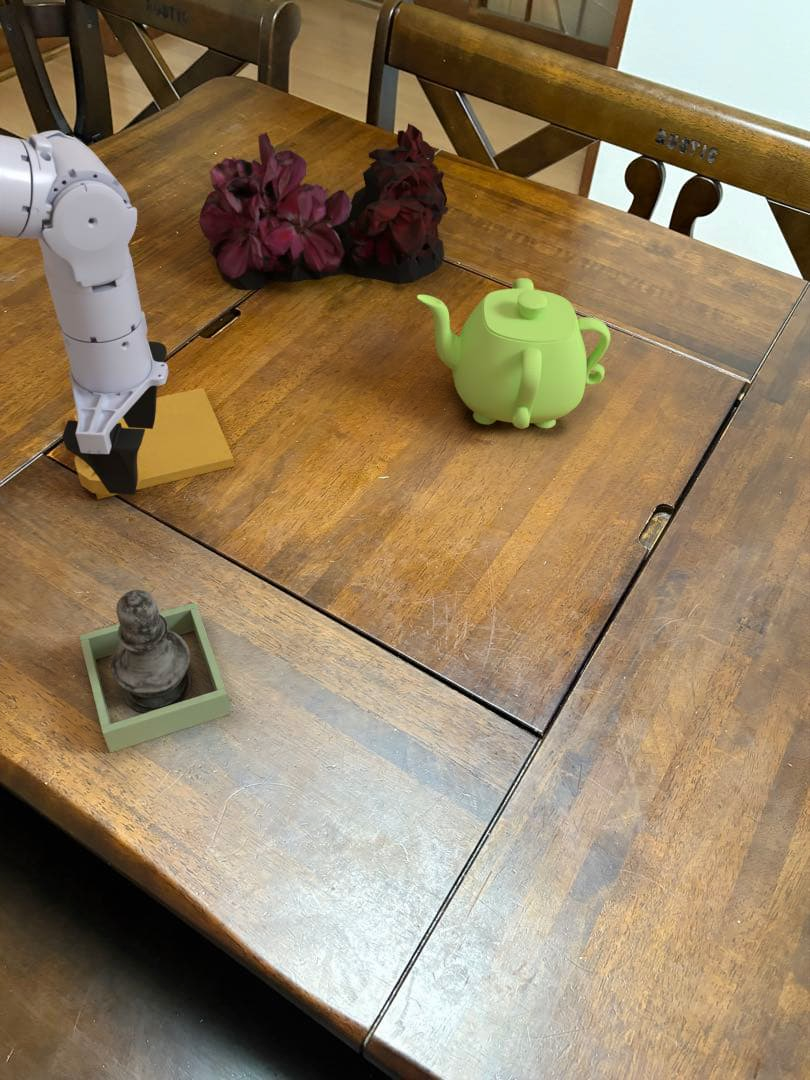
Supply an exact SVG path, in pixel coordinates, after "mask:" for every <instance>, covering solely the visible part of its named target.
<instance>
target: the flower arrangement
mask: <svg viewBox="0 0 810 1080" xmlns="http://www.w3.org/2000/svg"><path fill="white" fill-rule="evenodd" d="M396 143H397V145H398V146H397V147H395V148H393V149H392V148H376V149H373V150H372V151H370V152H368V158H369V159H372V160H375V161H372V163H370V164H369V167H368V168H367V169H365V170H364V171H363V172H362V175H363V181H364V187H362V188H360V189H358V190H357V191H356V192H354V194H353V197H352V199H351V198H350V196H349V195H348V194H347V192H346V191H345V190H344V189H339V190H338V191H335V192H334V193H333V194H331V195H330V196H329V192H330V189H329V188H326V189H324V187H323V186H322V185H319V184H318V183H315V184H311V183H303V184H302V183H301V182H302V181H303V180H304V178H305V177H306V176H307V163H308V162H307V161H306V160H305V159H304V158H303V157H302V156H301V155H299V154H297V153H296V152H294V151H293V150H290V149H289V150H282V151H279V152H276V148H275V147H274V146H273V145H272V144H271V139H270V137H269V135H268V132H265V133H260V135H258V150H259V151H258V152H259V157H260V162H261V163H259V162H258V161H257V160H255V159H254V158H253V159H252V162H250V161H247V160H245V159H241V158H240V159H238V158H237V159H236V157H235V156H233V155H231V158H224V159H223V160H222V161H221V162H219V163H218V162H217V163H216V164H214V166H213V167H211V168H210V170H209V175H210V177H209V178H210V183H211V187H212V188H213V189H214V190H213V191H211V192H210V193H209V194H207V196H206V198H205V201H204V203H203V205H202V207H201V210H200V214H199V218H198V223H199V228H200V230H201V232H202V234H203V237H204V238H206V239H207V240H208V241H209V246H208V252H209V254H211V255H212V256H213V258H214V259H215V263H216V267H217V269H218V272H219V274H220V276H221V278H222V280H223V281H225V283H227V284H229V285H231V287H233V288H234V289H237V290H245V291H251V290H256V289H262V288H264V287H266V286H267V285H269V284H271V283H273V282H283V283H284V282H285V283H293V282H299V281H305V280H310V279H314V280H315V279H316V280H317V279H318V280H320V279H321V280H322V279H325V278H328V277H331V276H338V275H344V274H345V275H346V274H348V275H352V276H356V277H362V278H369V279H374V280H379V281H380V280H381V281H384V282H387V283H388V282H389V283H393V284H398V285H402V284H408V283H414V282H416V281H419V280H420V279H422V278H425V277H426V276H428V275H430V274H432V273H434V272H436V271H437V270H438V269H439V268H440V267H441V265H443V261H444V257H445V249H444V241H443V240H442V239H440V237H439V229H438V225H440V224H441V221H442V219H443V215H445V214H446V215H447V214H448V213H447V212H448V210H450V207H448V206H446V205H447V202H448V196H447V194H446V191H445V188H444V183H443V178H444V175H445V173H444V171H443V170H442V171H440V172H439V171H438V170H439V168H438V167H437V165H436V164H435V163H434V162H435V160H436V159H435V156H436V153H435V150H434V148H433V147H432V146H431V145H430V144H429V143H428V142H427V141H426V140H424V138H423V132H422V131H421V130H420V129H418V127H416V126H414V125H413V124H411V123H407V127H406V130H405V131H404V129H401V130H398V131H397V138H396ZM328 196H329V197H328Z"/></svg>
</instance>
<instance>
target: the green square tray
mask: <svg viewBox="0 0 810 1080" xmlns="http://www.w3.org/2000/svg"><path fill="white" fill-rule="evenodd" d="M159 614H160V615H161V616H163V617H164V619H165V620H166V622H167V626H168V630H169V631H172V632H175V633H176V634H178V635H179V636H181V635H185V634H189V633H192V632H194V634H195V638H196V640H197V643H198V647H199V649H200V652H201V655H202V658H203V661H204V664H205V667H206V671H207V673H208V676H209V679H210V682H211V685H212V688H213V691H211V692H208V693H204V694H202V695H198V696H195V697H192V698H188V699H185V700H184V701H182V702H179V703H175V704H172V705H169V706H166V707H163V708H160V709H156V710H153V711H150V712H147V713H141V714H137V715H134V716H131V717H129V718H125V719H121V720H118V721H116V722H112V721H111V716H110V712H109V708H108V704H107V699H106V696H105V692H104V689H103V683H102V679H101V677H100V676H101V675H100V672H99V671H100V670H99V668H98V663H97V660H100V659H103V658H106V657H109V656H113V653H114V651H115V649H116V648H117V647H118V645H119V644H120V641H119V639H118V628H119V626H120V623H118V624H114V625H110V626H107V627H103V628H100V629H96V630H93V631H89V632H86V633H83V634H79V636H78V637H79V641H80V645H81V649H82V653H83V657H84V658H83V659H84V662H85V667H86V670H87V675H88V679H89V683H90V686H91V691H92V694H93V695H92V696H93V699H94V700H93V701H94V703H95V707H96V712H97V716H98V722H99V724H100V730H101V733H102V736H103V738H104V741H105V744H106V746H107V750H108V752H109V753H110V754H112V753H114V752H117V751H120V750H121V751H122V750H124V749H127V748H130V747H132V746H136V745H140V744H142V743H145V742H148V741H151V740H154V739H158V738H160V737H163V736H167V735H170V734H173V733H177V732H180V731H182V730H185V729H188V728H192V727H195V726H198V725H200V724H203V723H207V722H210V721H213V720H217V719H219V718H223V717H225V716H228V715H230V714H231V709H230V704H229V698H228V692H227V689H226V686H225V684H224V681H223V678H222V676H221V675H222V674H221V673H220V669H219V666H218V663H217V660H216V658H215V657H216V656H215V655H214V652H213V649H212V646H211V642H210V640H209V637H208V634H207V632H206V628H205V625H204V622H203V619H202V617H201V613H200V610H199V608H198V606H197V602H192V603H188V604H184V605H180V606H177V607H174V608H170V609H166V610H163V611H159Z"/></svg>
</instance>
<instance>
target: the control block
mask: <svg viewBox="0 0 810 1080" xmlns="http://www.w3.org/2000/svg"><path fill="white" fill-rule="evenodd" d="M215 413H216V412H214V409H213V406H212V404H211V402H210V400H209V396H208V394H207V392H206V390H205V388H204V387H200V388H195V389H190V390H185V391H181V392H177V393H172V394H166V395H161V396H157V398H156V415H155V422H154V426H153V429H146V428H134V429H145V432H144V436H143V439H142V443H141V446H140V448H139V450H138V453H137V472H138V481H137V487H136V491H138V490H143V489H147V488H151V487H155V486H159V485H162V484H163V485H164V484H168V483H170V482H171V483H172V482H175V481H179V480H183V479H187V478H192V477H195V476H200V475H203V474H210V473H212V472H217V471H221V470H224V469H229V468H230V469H231V468H234V467H235V459H234V456H233V453H232V451H231V448H230V446H229V443H228V441H227V439H226V437H225V435H224V434H225V433H224V432H223V430H222V428H221V425H220V422H219V420H218V418H217V416H216V414H215ZM73 417H74V421H78V417H77V414H74V415H73ZM118 423H121V425H122V428H129V427H128V426H127V424H126V423H125V421H124V419H123V417H122V418H121V419H120V420H119V421H118ZM118 423H117V424H118ZM74 465H75V469H76V472H77V476H78V479H79V482H80V485H81V486H82V487H83V488H85V489H86V490H88V491H89V492H90V493H92V494H95V495H96V499H97V500H101V499H105V498H109V497H113V496H118V495H119V494H110V493H109V492H108V490H107V489H106V488H105V486H104V485H103V483H102V482H101V480H100V479H99V477H98V476H97V475H96V473H95V472H94V471H93V469H92V468H91V467H90V466H89V465H88V464H87V463H86V462H85V461H83V460H82V459H81V458H79V457H78V456H77V455H75V457H74Z"/></svg>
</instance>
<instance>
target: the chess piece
mask: <svg viewBox="0 0 810 1080" xmlns="http://www.w3.org/2000/svg"><path fill="white" fill-rule="evenodd" d="M115 612H116V616H117V619H118V622H119V623H118V624H120V626H119V628H118V639H119V641H120V644H119V645H118V647H117V648H116V649H115V651H114V653H113V655H111V659H110V671H111V674H112V677H113V679H114V680H115V682H116V683H117V685H119V686H120V687H122V694H123V698H124V700H125V702H126V703H127V705H128V706H129V707H131V708H132V709H133V710H134V711H136V712H139V713H141V714H144V713H147V712H150V711H153V710H156V709H160V708H163V707H166V706H169V705H172V704H175V703H179V702H182V701H185V700H186V698H187V697H188V695H189V693H190V690H191V688H192V676H191V673H190V670H189V665H190V662H191V652H190V649H189V645H188V643H187V642H186V641H185V639H184V638H183V637H182V636H181V635H178V634H176V633H175V632H172V631H169V630H168V626H167V622H166V620H165V619H164V617H163V616H161V615H160V614H159V612H160V611H159V607H158V604H157V600H156V598H155V597H154V596H153V594H151V593H150V592H148V591H145V590H143V589H142V590H141V589H134V590H130V591H128V592H126V593H124V594H123V595H122V596H121V597H120V598H119V599H118V601H117V604H116V609H115Z"/></svg>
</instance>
